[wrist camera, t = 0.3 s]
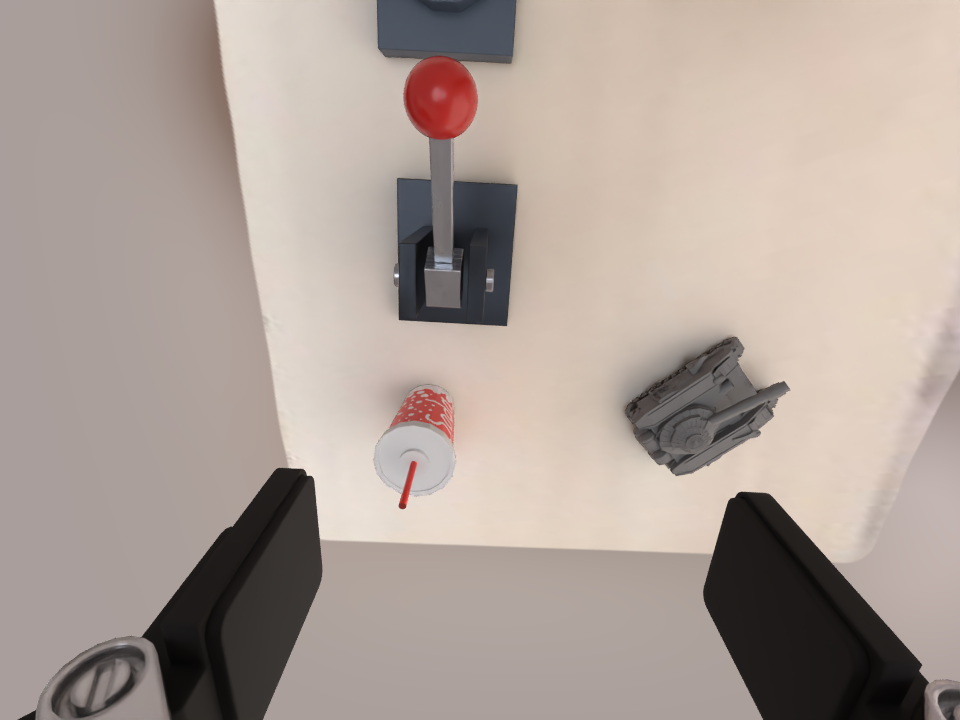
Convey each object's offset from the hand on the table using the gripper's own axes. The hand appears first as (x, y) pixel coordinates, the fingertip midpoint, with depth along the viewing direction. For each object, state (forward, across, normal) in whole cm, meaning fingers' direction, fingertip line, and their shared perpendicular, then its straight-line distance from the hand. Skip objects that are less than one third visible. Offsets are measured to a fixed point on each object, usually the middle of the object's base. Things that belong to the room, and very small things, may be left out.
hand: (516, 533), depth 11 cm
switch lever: (+20, +3, -7) cm, 21 cm away
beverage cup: (+30, +6, +12) cm, 33 cm away
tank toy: (+30, -18, +10) cm, 37 cm away
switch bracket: (+30, +4, -2) cm, 30 cm away
